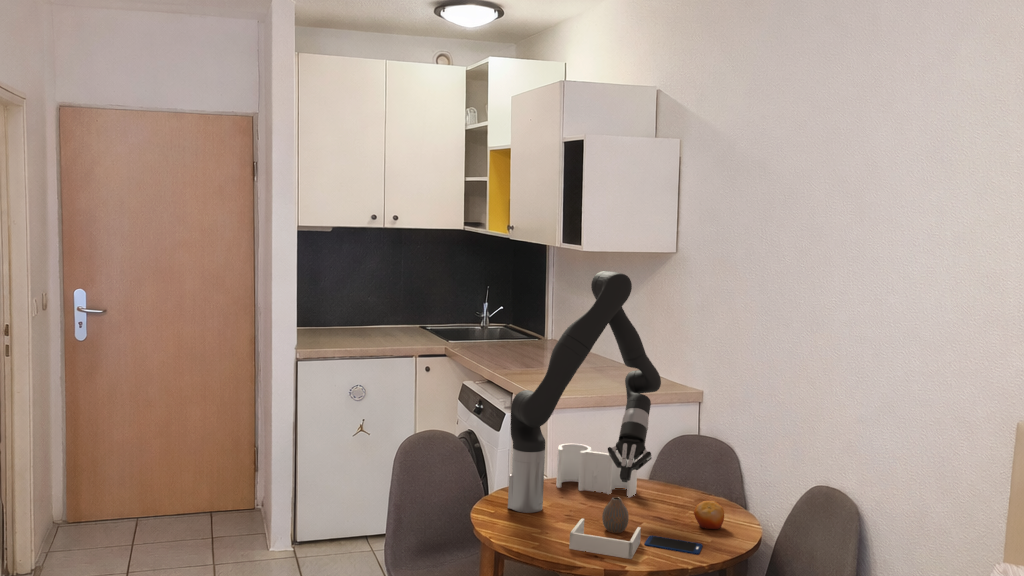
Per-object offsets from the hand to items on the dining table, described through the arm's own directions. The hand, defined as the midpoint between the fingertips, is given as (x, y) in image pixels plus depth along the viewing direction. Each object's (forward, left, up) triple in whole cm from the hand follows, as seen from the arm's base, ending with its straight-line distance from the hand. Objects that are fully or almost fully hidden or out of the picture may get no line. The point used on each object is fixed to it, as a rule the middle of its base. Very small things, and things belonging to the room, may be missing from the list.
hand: (624, 480), depth 227 cm
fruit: (+23, +4, -11) cm, 26 cm away
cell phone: (+16, -14, -11) cm, 24 cm away
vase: (0, -10, -11) cm, 15 cm away
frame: (0, -22, -11) cm, 24 cm away
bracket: (-13, +25, -11) cm, 30 cm away
